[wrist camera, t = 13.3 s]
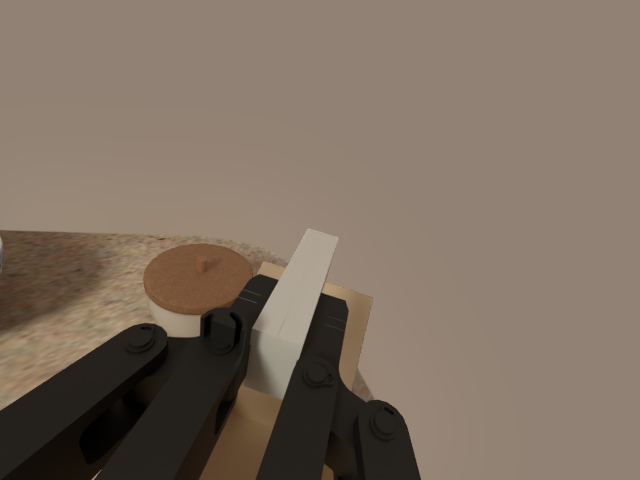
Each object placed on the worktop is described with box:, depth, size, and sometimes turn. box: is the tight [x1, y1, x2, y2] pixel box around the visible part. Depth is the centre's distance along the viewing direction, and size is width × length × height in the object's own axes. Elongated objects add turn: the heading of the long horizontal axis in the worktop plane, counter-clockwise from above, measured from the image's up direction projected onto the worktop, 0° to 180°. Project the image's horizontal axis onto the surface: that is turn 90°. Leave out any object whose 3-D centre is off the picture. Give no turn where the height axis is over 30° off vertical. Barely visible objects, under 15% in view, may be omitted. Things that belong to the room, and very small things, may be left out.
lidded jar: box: [143, 244, 253, 337], centre depth 33 cm, size 11×11×9 cm
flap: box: [256, 261, 373, 391], centre depth 26 cm, size 11×1×8 cm
